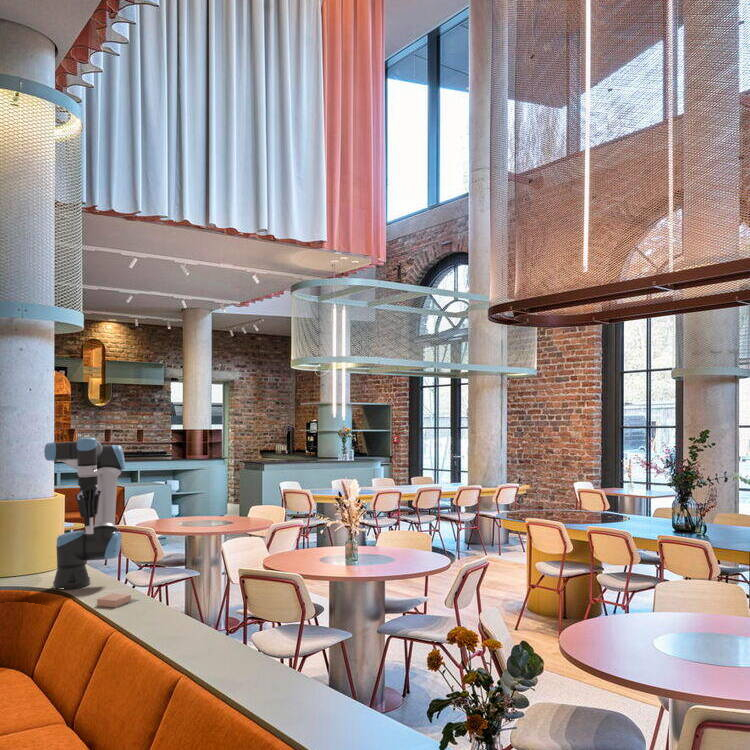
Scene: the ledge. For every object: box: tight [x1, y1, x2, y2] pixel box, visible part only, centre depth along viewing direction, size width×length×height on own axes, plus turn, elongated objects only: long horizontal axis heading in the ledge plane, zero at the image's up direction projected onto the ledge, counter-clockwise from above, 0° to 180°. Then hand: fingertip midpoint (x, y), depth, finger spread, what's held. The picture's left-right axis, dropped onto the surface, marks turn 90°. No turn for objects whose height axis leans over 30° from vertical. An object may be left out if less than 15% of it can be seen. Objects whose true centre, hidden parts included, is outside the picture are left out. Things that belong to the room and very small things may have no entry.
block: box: [96, 593, 132, 609], centre depth 310 cm, size 3×9×9 cm
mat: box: [94, 598, 140, 609], centre depth 312 cm, size 12×12×1 cm
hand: (89, 533), depth 323 cm, fingers closed
